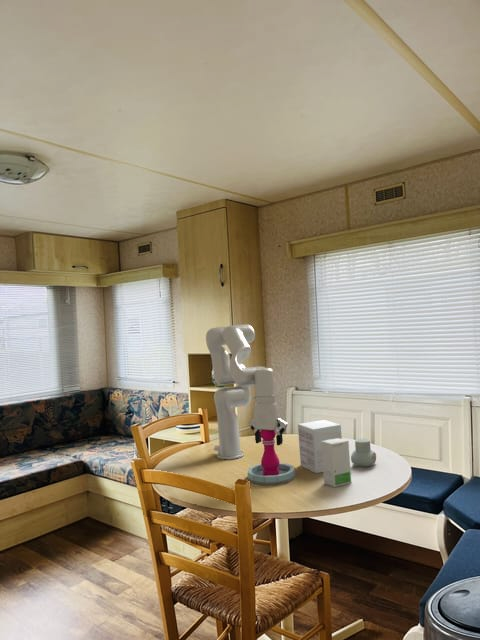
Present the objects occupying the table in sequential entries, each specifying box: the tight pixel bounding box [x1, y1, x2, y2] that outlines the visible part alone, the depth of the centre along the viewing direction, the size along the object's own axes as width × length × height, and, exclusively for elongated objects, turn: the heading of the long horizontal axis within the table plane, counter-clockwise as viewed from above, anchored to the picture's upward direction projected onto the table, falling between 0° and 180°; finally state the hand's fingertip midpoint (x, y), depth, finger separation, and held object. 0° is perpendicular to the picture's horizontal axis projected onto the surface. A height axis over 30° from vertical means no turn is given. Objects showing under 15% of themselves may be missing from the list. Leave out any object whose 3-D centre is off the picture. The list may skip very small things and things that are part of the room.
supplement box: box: [297, 419, 343, 474], centre depth 197 cm, size 13×13×18 cm
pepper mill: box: [260, 430, 281, 476], centre depth 188 cm, size 7×7×20 cm
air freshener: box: [350, 438, 377, 468], centre depth 195 cm, size 11×8×10 cm
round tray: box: [247, 462, 296, 486], centre depth 188 cm, size 18×18×3 cm
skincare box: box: [321, 438, 352, 488], centre depth 176 cm, size 8×7×16 cm
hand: (269, 443), depth 188 cm, fingers open, 9 cm apart
